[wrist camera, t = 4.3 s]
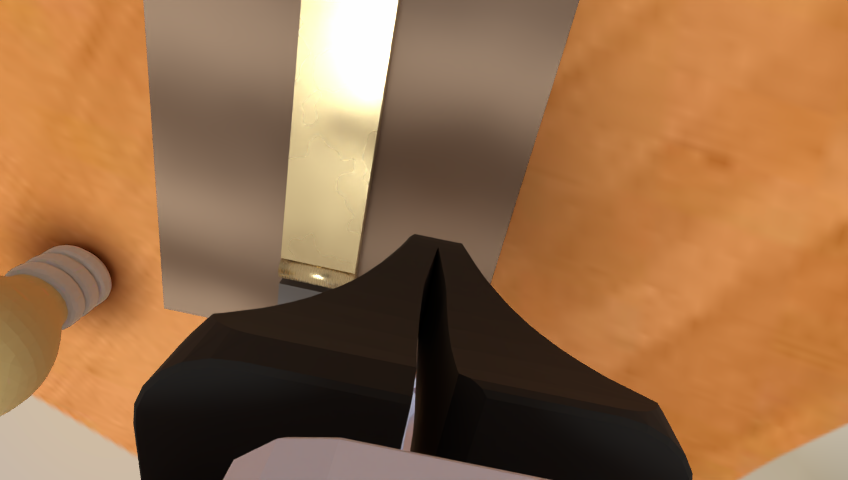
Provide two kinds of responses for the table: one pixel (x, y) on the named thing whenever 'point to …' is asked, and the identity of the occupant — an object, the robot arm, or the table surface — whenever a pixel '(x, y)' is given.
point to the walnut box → (396, 151)
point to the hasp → (334, 135)
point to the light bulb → (43, 314)
